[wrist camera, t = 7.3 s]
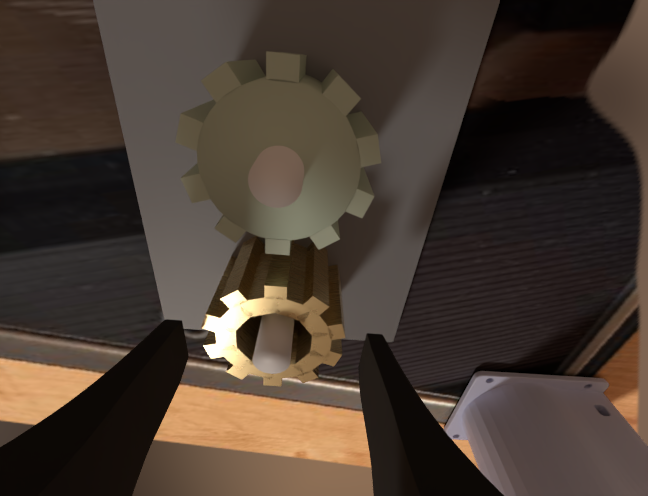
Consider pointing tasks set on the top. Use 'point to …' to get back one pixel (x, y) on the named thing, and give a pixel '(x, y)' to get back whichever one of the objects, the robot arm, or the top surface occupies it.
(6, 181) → the top surface
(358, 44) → the gear board
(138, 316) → the top surface
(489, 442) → the robot arm
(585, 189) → the top surface
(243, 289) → the loose gear
